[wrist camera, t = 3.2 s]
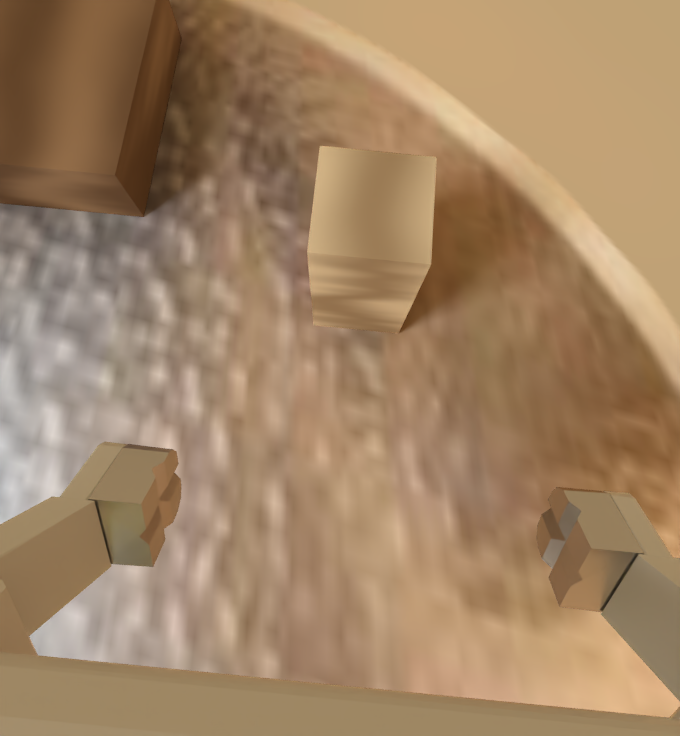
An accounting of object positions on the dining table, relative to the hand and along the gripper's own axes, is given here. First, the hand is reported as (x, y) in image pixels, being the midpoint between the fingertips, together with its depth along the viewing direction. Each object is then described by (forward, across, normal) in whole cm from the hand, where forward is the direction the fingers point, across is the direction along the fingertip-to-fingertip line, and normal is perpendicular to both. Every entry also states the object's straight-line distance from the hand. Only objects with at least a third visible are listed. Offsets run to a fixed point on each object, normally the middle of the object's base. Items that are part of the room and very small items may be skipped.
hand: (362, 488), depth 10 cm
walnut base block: (+23, +18, -4) cm, 29 cm away
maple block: (+16, 0, +2) cm, 16 cm away
